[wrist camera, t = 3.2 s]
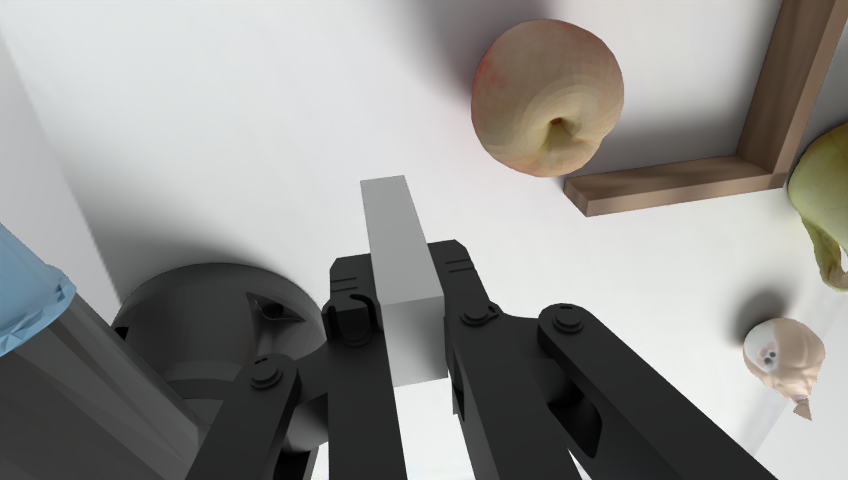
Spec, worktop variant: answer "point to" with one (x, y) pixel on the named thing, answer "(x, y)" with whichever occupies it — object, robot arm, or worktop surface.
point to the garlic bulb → (785, 359)
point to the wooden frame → (763, 132)
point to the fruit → (546, 97)
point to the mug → (825, 202)
